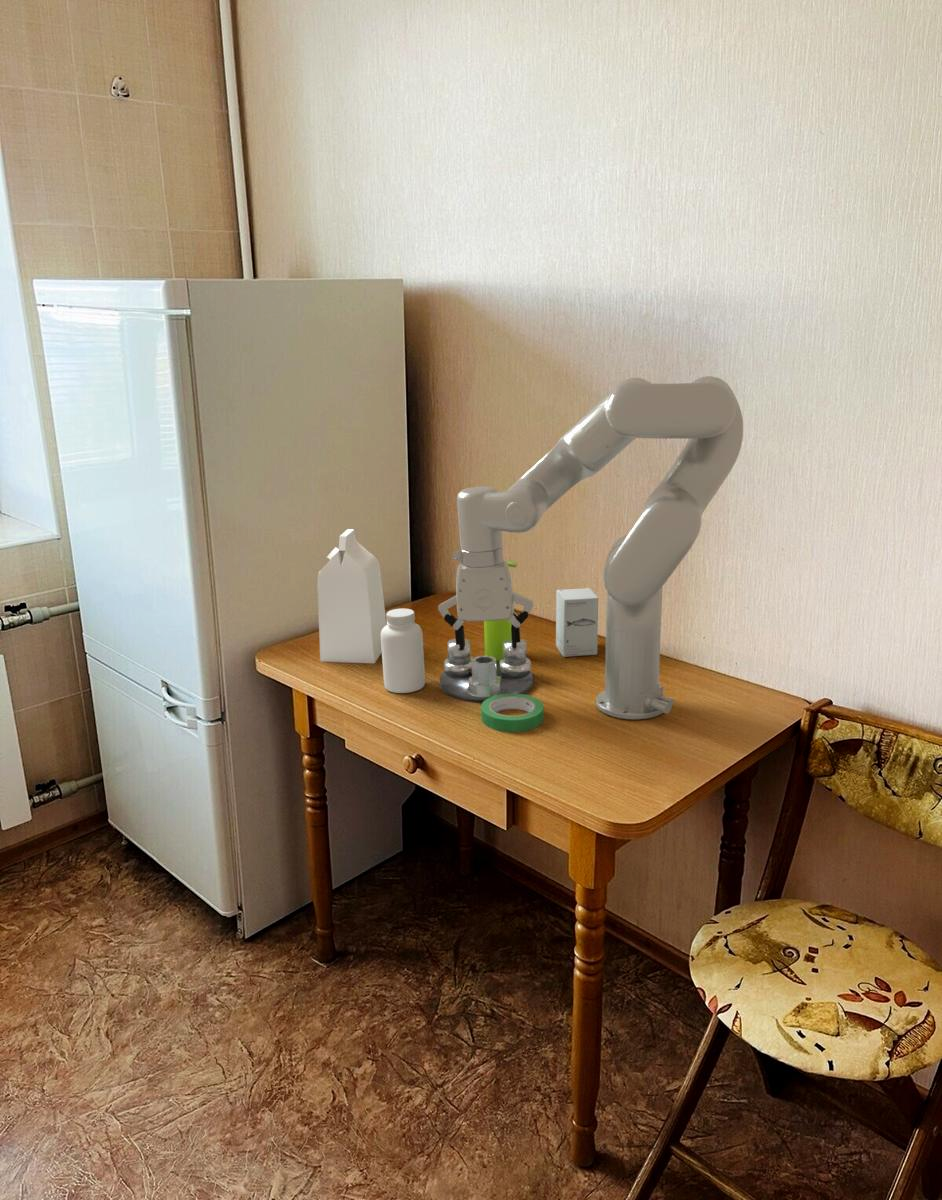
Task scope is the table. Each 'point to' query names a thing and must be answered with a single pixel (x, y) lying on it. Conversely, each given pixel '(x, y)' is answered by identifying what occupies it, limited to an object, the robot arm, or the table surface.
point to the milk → (350, 604)
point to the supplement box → (576, 622)
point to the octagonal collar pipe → (484, 677)
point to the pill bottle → (402, 652)
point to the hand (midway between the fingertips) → (488, 646)
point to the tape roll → (512, 722)
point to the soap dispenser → (497, 633)
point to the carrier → (509, 669)
